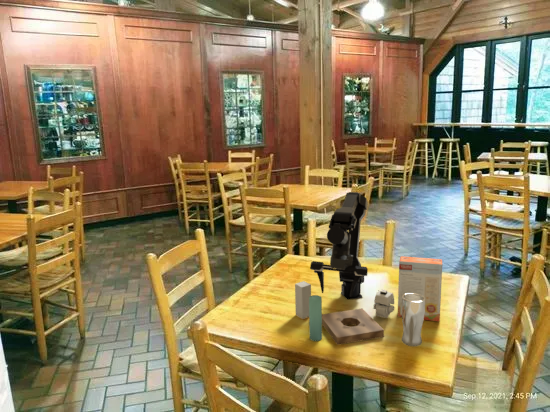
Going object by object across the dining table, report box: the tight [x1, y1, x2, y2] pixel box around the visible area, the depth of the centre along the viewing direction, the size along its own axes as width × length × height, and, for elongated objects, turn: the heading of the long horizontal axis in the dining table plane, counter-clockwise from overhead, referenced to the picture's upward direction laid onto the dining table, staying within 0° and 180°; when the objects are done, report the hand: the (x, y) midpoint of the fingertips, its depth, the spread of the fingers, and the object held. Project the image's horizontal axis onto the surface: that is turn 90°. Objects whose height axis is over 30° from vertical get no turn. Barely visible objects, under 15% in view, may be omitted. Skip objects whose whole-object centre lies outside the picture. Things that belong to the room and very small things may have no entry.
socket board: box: [322, 308, 385, 346], centre depth 146 cm, size 16×16×2 cm
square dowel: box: [294, 280, 312, 320], centre depth 155 cm, size 4×4×12 cm
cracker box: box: [397, 255, 443, 322], centre depth 151 cm, size 14×6×21 cm, turn 70°
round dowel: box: [308, 294, 323, 342], centre depth 140 cm, size 4×4×14 cm
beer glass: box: [401, 293, 425, 347], centre depth 136 cm, size 7×7×15 cm
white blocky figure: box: [373, 289, 395, 319], centre depth 152 cm, size 6×7×10 cm
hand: (336, 294), depth 145 cm, fingers open, 9 cm apart
